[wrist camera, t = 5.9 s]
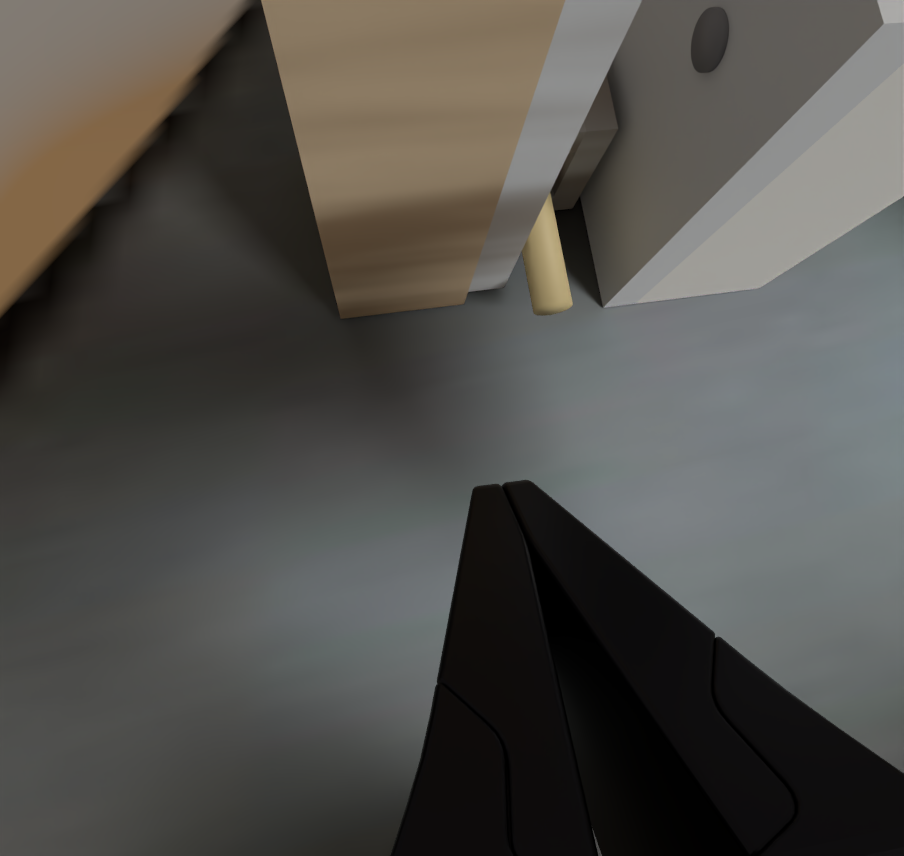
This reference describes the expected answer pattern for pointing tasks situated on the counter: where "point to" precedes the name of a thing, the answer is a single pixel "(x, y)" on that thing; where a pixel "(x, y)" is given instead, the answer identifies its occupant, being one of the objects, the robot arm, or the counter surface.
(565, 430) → the counter surface
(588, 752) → the robot arm
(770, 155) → the frame leaf
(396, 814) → the counter surface
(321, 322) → the counter surface
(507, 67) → the light wood tall block
